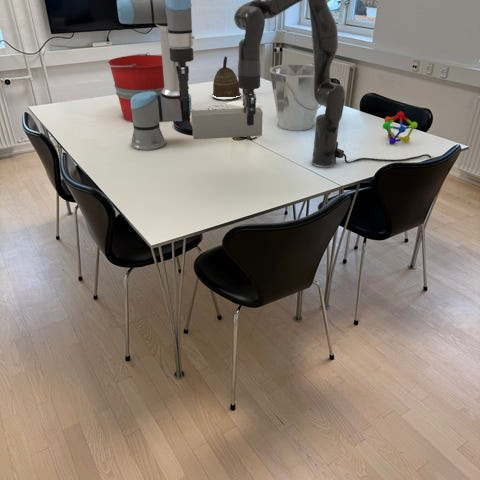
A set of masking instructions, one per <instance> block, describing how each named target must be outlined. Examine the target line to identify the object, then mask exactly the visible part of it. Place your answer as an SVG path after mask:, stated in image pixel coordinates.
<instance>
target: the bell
mask: <svg viewBox="0 0 480 480" xmlns="http://www.w3.org/2000/svg"><path fill="white" fill-rule="evenodd" d="M227 63H228V57H227V56H224V58H223V63H222V67H221V68H219V69H218V70H217V71H216V73H215V75H214V78H213V81H212V83H213V84H212V95H214V96H216V97H236V96H240V95H241V96H242V93H241V92H240V88H239V87H238V76H237V75H236V73H235V72H234V70H232V69H231V68H230V67H227Z"/></svg>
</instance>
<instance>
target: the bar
mask: <svg viewBox="0 0 480 480" xmlns="http://www.w3.org/2000/svg"><path fill="white" fill-rule="evenodd" d="M250 111H252V108H250ZM255 112H256V113H255V114H254V125H251V126H248V125H247V108H244V107H242V108H240V107H239V108H220V109H219V108H218V109H199V110H198V109H197V110H191V114H190V115H191V126H192V127H191V128H192V137H193V140H210V139H228V138H230V139H231V138H247V137H248V138H249V137H263V116H264V115H263V111H262V109H261V107H256V110H255Z"/></svg>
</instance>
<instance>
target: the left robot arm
mask: <svg viewBox="0 0 480 480" xmlns="http://www.w3.org/2000/svg"><path fill="white" fill-rule="evenodd" d="M192 5H193V4H192V0H116V7H117V16H118V21H119V23H120V24H122V25H142V24H155V26H156V27H157V28H158V29H159V36H160V37H159V38H160V49H161V56H162V63H163V76H164V88H163V89H162V91H161V95H157V94H156V92H153V91H152V92H150V91H148V92H142V93H138V94H136V95H134V96H133V97H132V98H131V109H132V117H133V122H132V125H133V132H132V135H131V147H132V148H134V149H135V150H141V151H151V150H153V151H154V150H157V149H161V148H163V147H164V146H165V144H166V140H165V137H164V135H163V132H162V130H161V127H160V123H167V122H168V123H169V122H187V121H189V122H190V121H191V115H192V114H191V111H192V95H191V94H190V92H189V89H190V87H189V79H190V77H189V76H190V75H189V73H190V68H189V65H187V63H190V62H193V61H194V57H195V56H194V48H193V45H194V42H193V40H194V39H195V35H193V22H192V21H193V19H192Z"/></svg>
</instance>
